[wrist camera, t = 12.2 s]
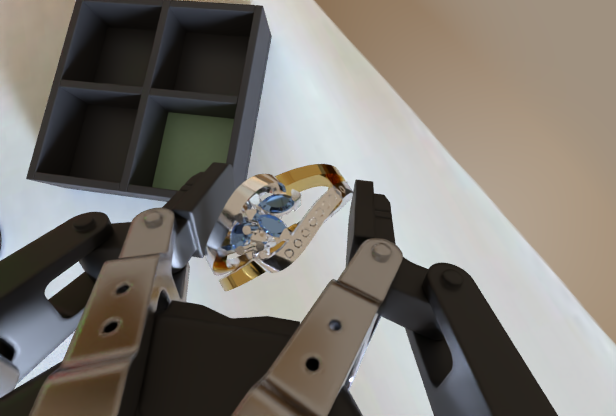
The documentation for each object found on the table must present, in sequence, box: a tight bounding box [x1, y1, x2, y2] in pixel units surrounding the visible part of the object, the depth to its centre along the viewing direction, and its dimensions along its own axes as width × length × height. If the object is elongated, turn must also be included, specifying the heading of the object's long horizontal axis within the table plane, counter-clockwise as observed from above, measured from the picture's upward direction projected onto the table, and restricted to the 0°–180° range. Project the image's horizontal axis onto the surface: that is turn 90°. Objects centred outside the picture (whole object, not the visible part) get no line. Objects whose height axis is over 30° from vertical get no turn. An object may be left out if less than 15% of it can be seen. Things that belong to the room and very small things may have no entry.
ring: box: [205, 164, 354, 291], centre depth 13 cm, size 7×3×8 cm, turn 122°
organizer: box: [26, 0, 271, 202], centre depth 30 cm, size 20×20×4 cm
